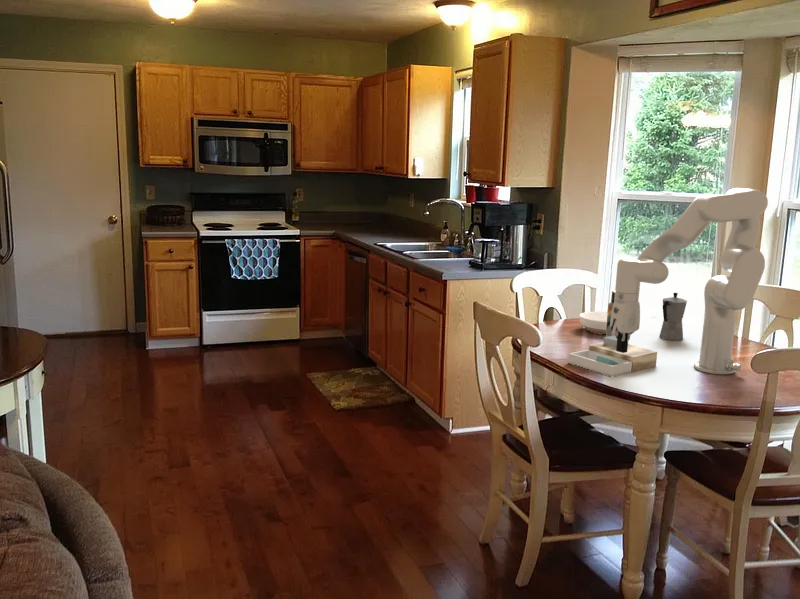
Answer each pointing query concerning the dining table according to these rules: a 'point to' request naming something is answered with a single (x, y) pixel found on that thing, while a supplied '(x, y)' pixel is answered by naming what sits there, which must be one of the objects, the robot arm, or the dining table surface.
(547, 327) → the dining table surface
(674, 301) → the coffeepot
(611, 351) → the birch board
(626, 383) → the dining table surface
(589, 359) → the box
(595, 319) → the bowl
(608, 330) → the lotion bottle
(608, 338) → the slate tile
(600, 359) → the teal tile
